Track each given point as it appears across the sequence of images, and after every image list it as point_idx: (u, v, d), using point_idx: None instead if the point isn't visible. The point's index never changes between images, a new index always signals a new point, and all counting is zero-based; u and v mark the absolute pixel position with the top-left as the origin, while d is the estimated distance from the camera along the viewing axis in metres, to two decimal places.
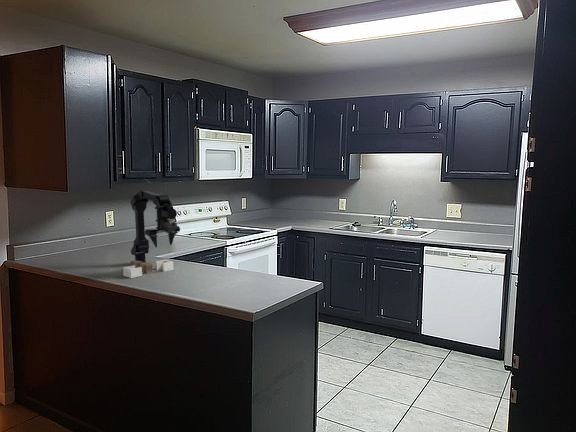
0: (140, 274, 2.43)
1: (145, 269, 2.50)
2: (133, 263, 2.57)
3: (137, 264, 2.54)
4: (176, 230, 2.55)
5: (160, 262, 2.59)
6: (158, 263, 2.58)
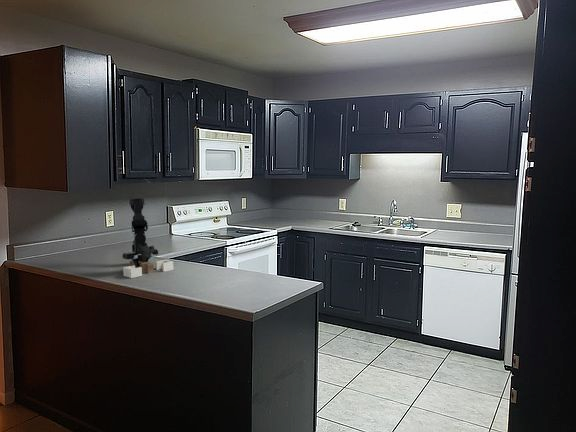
0: (140, 274, 2.43)
1: (146, 268, 2.50)
2: (132, 263, 2.57)
3: None
4: (154, 253, 2.57)
5: (160, 262, 2.59)
6: (158, 263, 2.58)
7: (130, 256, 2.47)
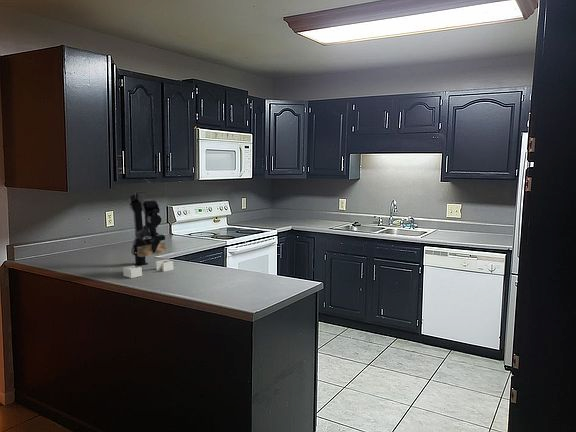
0: (140, 274, 2.43)
1: None
2: None
3: None
4: (152, 239, 2.44)
5: (160, 262, 2.59)
6: (158, 263, 2.58)
7: None
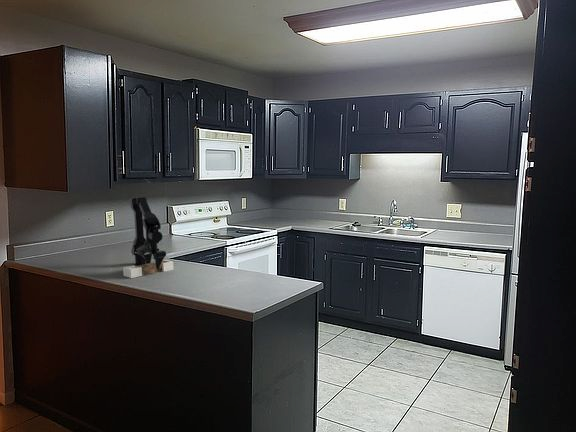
0: (140, 274, 2.43)
1: None
2: None
3: None
4: (153, 255, 2.45)
5: None
6: None
7: None
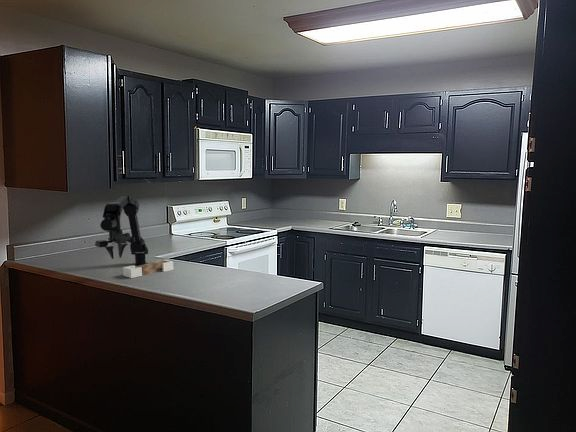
0: (140, 274, 2.43)
1: None
2: None
3: None
4: (130, 241, 2.39)
5: None
6: None
7: (103, 244, 2.28)
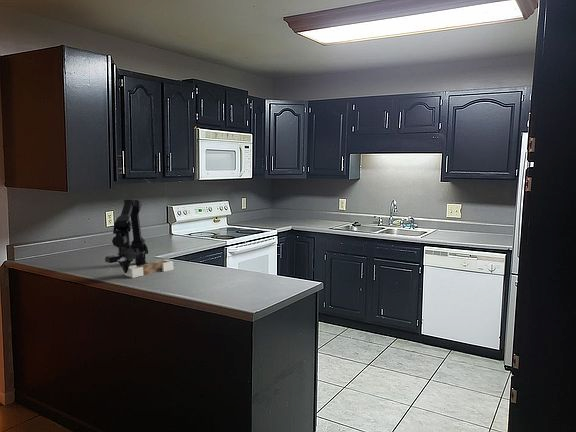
0: (141, 274, 2.44)
1: None
2: None
3: None
4: (139, 256, 2.43)
5: None
6: None
7: (113, 259, 2.33)
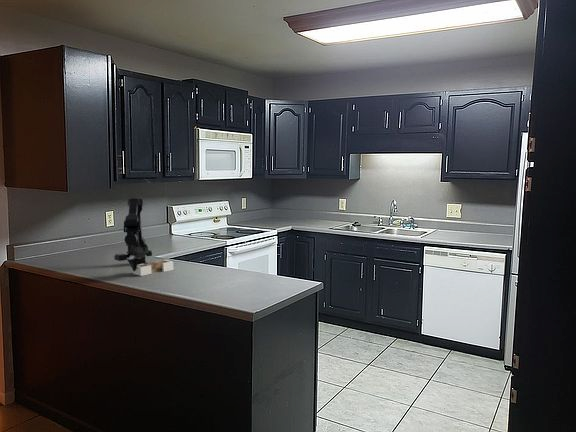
0: (149, 272, 2.47)
1: None
2: None
3: None
4: (148, 254, 2.47)
5: None
6: None
7: (122, 257, 2.36)
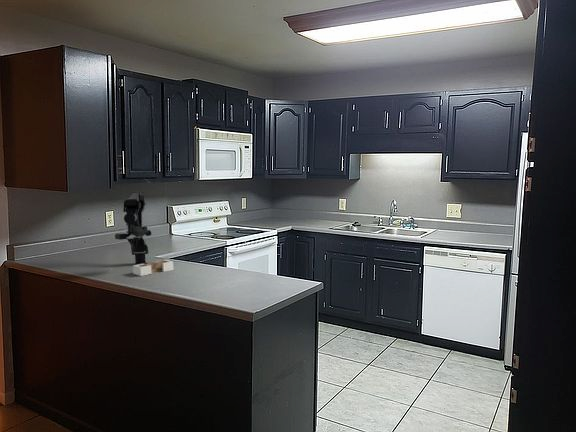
0: (149, 272, 2.47)
1: None
2: None
3: None
4: (147, 234, 2.54)
5: None
6: None
7: (123, 236, 2.44)
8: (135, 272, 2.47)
